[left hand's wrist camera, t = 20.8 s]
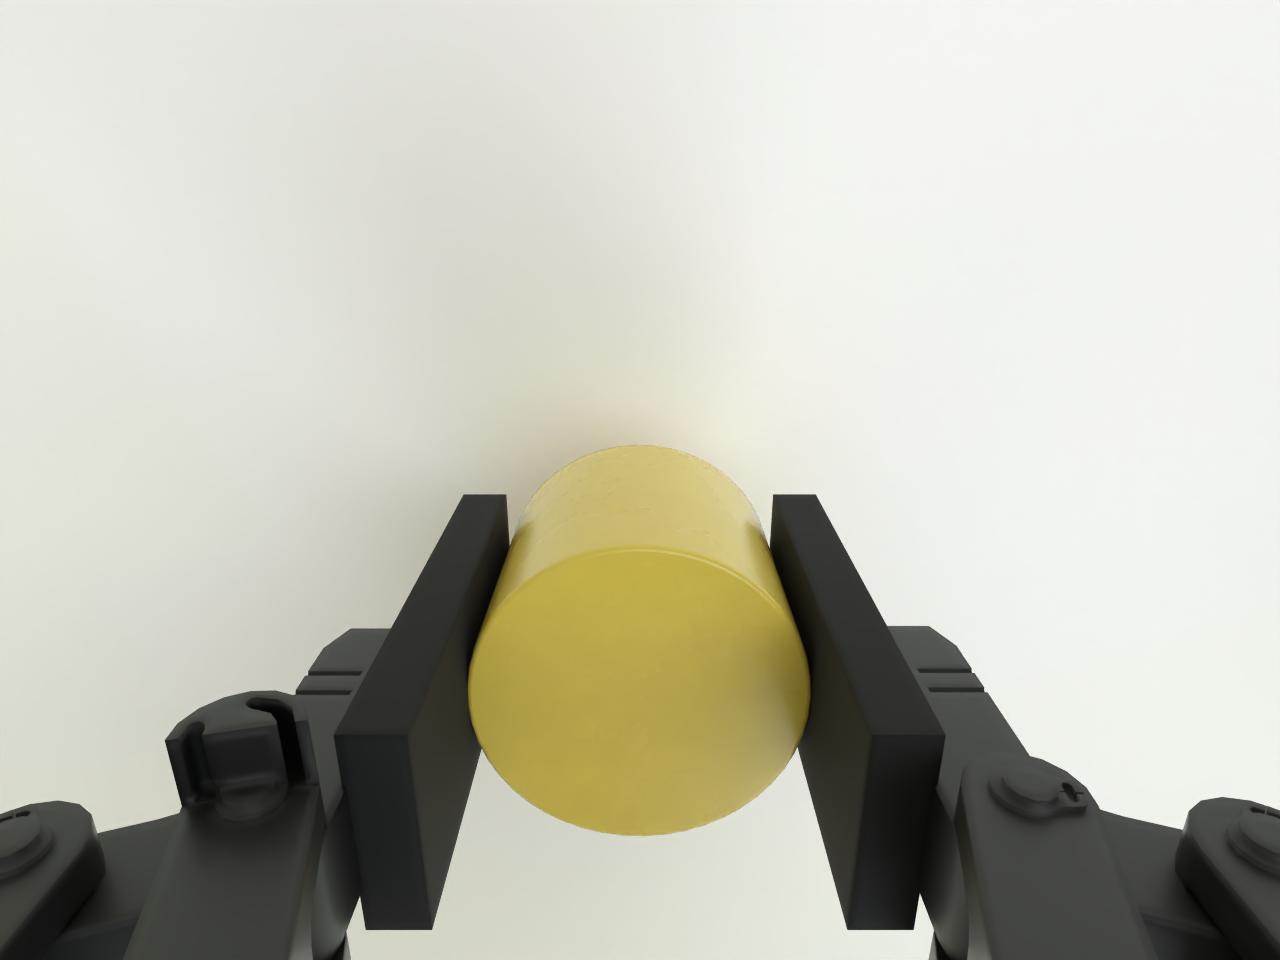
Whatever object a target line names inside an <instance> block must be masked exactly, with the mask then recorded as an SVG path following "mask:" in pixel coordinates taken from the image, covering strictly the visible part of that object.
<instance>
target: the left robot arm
mask: <svg viewBox="0 0 1280 960" xmlns="http://www.w3.org/2000/svg"><path fill="white" fill-rule="evenodd" d="M509 547H510V546H509V530H508V515H507V499H506V495H463V497H462V499H461V501H460V503H459V504H458V506H457V508H456V510H455V512H454V514H453V515H452V517H451V519H450V521H449V523H448V525H447V526H446V528H445V530H444V532H443V534H442V536H441V538H440V539H439V541H438V543H437V545H436V547H435V549H434V550H433V552H432V554H431V556H430V558H429V560H428V561H427V563H426V565H425V567H424V569H423V571H422V573H421V574H420V576H419V578H418V580H417V582H416V584H415V585H414V587H413V589H412V591H411V593H410V595H409V596H408V598H407V600H406V602H405V604H404V606H403V608H402V609H401V611H400V613H399V615H398V617H397V619H396V620H395V622H394V624H393V626H392V628H391V629H350V630H348V631H347V632H345V633H344V634H343V635H341V636H340V637H339V638H337V639H336V640H334V641H333V642H332V643H330V644H329V645H327V646H326V647H325V648H323V650H322V651H321V653H320V654H319V656H318V657H317V659H316V660H315V662H314V663H313V665H312V666H311V668H310V670H309V671H308V676H305V677H304V679H303V680H302V682H301V683H300V685H299V686H298V688H297V689H296V694H295V695H290V694H286V693H282V692H279V691H250V692H245V693H241V694H237V695H233V696H228V697H224V698H222V699H219V700H217V701H215V702H213V703H210V704H208V705H206V706H203V707H201V708H199V709H197V710H196V711H195V712H193V713H192V714H190V715H189V716H188V717H186V718H185V719H183V720H182V721H181V722H179V723H178V724H177V725H176V726H175V728H174V729H173V730H172V732H171V733H170V734H169V736H168V737H167V738H166V739H165V743H166V747H167V751H168V754H169V758H170V762H171V766H172V770H173V774H174V778H175V781H176V785H177V789H178V793H179V797H180V801H181V805H182V808H181V810H180V813H178V814H175V815H171V816H168V817H165V818H161V819H158V820H154V821H149V822H145V823H141V824H136V825H132V826H127V827H123V828H119V829H114V830H110V831H106V832H101V833H97V831H96V828H95V825H94V821H93V818H92V815H91V814H90V813H89V812H88V811H87V810H86V809H84V808H83V807H82V806H81V805H80V804H75V803H69V802H63V801H51V802H43V803H36V804H29V805H26V806H23V807H20V808H17V809H14V810H11V811H8V812H5V813H2V814H0V960H351V957H350V951H349V944H348V938H347V933H346V930H347V928H348V925H349V923H350V920H351V918H352V915H353V912H354V910H355V907H356V905H357V902H358V899H359V897H360V898H361V904H362V910H363V916H364V922H365V928H366V930H432V928H433V924H434V920H435V917H436V913H437V909H438V906H439V902H440V899H441V895H442V891H443V888H444V884H445V880H446V877H447V873H448V869H449V866H450V862H451V858H452V855H453V851H454V847H455V844H456V840H457V836H458V833H459V829H460V825H461V822H462V818H463V814H464V811H465V807H466V803H467V800H468V796H469V792H470V789H471V785H472V781H473V778H474V774H475V770H476V767H477V763H478V759H479V756H480V752H481V746H480V744H479V742H478V739H477V736H476V734H475V731H474V728H473V725H472V723H471V717H470V711H469V704H468V688H467V679H468V670H469V664H470V660H471V657H472V653H473V649H474V646H475V643H476V640H477V637H478V635H479V632H480V629H481V626H482V623H483V621H484V618H485V615H486V612H487V609H488V606H489V604H490V601H491V598H492V595H493V592H494V590H495V587H496V584H497V581H498V578H499V575H500V573H501V570H502V567H503V564H504V561H505V559H506V556H507V553H508V550H509ZM770 552H771V555H772V557H773V560H774V563H775V566H776V569H777V572H778V575H779V577H780V580H781V583H782V586H783V589H784V592H785V595H786V598H787V600H788V603H789V606H790V609H791V612H792V615H793V618H794V620H795V623H796V626H797V629H798V632H799V635H800V638H801V641H802V643H803V646H804V649H805V652H806V655H807V658H808V663H809V669H810V675H811V701H810V709H809V716H808V719H807V723H806V726H805V729H804V733H803V736H802V738H801V740H800V742H799V744H798V746H797V747H798V750H799V754H800V758H801V761H802V765H803V769H804V772H805V776H806V780H807V783H808V787H809V791H810V794H811V798H812V802H813V805H814V809H815V813H816V816H817V820H818V824H819V827H820V831H821V835H822V838H823V842H824V846H825V849H826V853H827V857H828V860H829V864H830V868H831V871H832V875H833V879H834V882H835V886H836V890H837V893H838V897H839V901H840V904H841V908H842V912H843V915H844V919H845V923H846V926H847V930H914V924H915V918H916V912H917V906H918V900H919V894H921V897H922V900H923V902H924V905H925V907H926V910H927V912H928V915H929V918H930V920H931V923H932V925H933V928H934V933H933V938H932V944H931V950H930V955H929V960H1280V810H1277V809H1274V808H1271V807H1269V806H1265V805H1262V804H1259V803H1256V802H1253V801H1249V800H1241V799H1233V798H1225V797H1220V798H1214V799H1208V800H1202V801H1200V802H1199V803H1198V804H1197V805H1195V806H1194V807H1193V808H1192V809H1191V810H1190V811H1189V813H1188V816H1187V819H1186V822H1185V825H1184V829H1183V830H1180V829H1176V828H1172V827H1167V826H1163V825H1158V824H1154V823H1150V822H1145V821H1141V820H1136V819H1132V818H1127V817H1123V816H1120V815H1116V814H1113V813H1110V812H1106V811H1103V810H1100V809H1099V806H1098V805H1097V803H1096V801H1095V800H1094V798H1093V797H1092V795H1091V794H1090V792H1089V791H1088V789H1087V788H1086V787H1085V786H1084V785H1083V784H1081V783H1080V782H1079V781H1078V780H1076V779H1075V778H1074V777H1073V776H1071V775H1070V774H1069V773H1068V772H1067V771H1065V770H1063V769H1060V768H1058V767H1056V766H1054V765H1052V764H1050V763H1048V762H1046V761H1044V760H1042V759H1039V758H1035V757H1031V756H1029V754H1028V753H1027V751H1026V750H1025V748H1024V747H1023V745H1022V744H1021V742H1020V741H1019V739H1018V738H1017V736H1016V735H1015V733H1014V732H1013V730H1012V729H1011V727H1010V726H1009V724H1008V723H1007V721H1006V720H1005V718H1004V717H1003V715H1002V714H1001V712H1000V711H999V709H998V708H997V706H996V705H995V703H994V702H993V700H992V699H991V697H990V696H989V694H988V693H987V692H984V687H983V685H982V684H981V682H980V681H979V679H978V678H977V676H976V675H975V673H972V671H971V667H970V666H969V664H968V663H967V661H966V660H965V658H964V657H963V655H962V654H961V652H960V651H959V649H958V648H957V646H956V645H955V644H953V643H952V642H950V641H949V640H948V639H946V638H945V637H943V636H942V635H941V634H939V633H938V632H936V631H935V630H934V629H932V628H931V627H929V626H887V625H886V623H885V622H884V620H883V618H882V616H881V614H880V612H879V610H878V609H877V607H876V605H875V603H874V601H873V599H872V598H871V596H870V594H869V592H868V590H867V588H866V587H865V585H864V583H863V581H862V579H861V577H860V575H859V574H858V572H857V570H856V568H855V566H854V564H853V563H852V561H851V559H850V557H849V555H848V553H847V551H846V550H845V548H844V546H843V544H842V542H841V540H840V539H839V537H838V535H837V533H836V531H835V529H834V528H833V526H832V524H831V522H830V520H829V518H828V516H827V515H826V513H825V511H824V509H823V507H822V505H821V504H820V502H819V500H818V498H817V496H816V495H773V506H772V522H771V537H770Z"/></svg>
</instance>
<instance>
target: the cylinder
mask: <svg viewBox="0 0 1280 960" xmlns="http://www.w3.org/2000/svg"><path fill="white" fill-rule="evenodd" d="M467 688H468V704H469V711H470V717H471V723H472V725H473V728H474V731H475V734H476V736H477V739H478V742H479V744H480V746H481V748H482V750H483V751H484V753H485V755H486V757H487V759H488V760H489V762H490V763H491V764H492V766H493V767H494V769H495V770H496V771H497V773H498V774H499V775H500V776H501V777H502V778H503V779H504V781H505V782H506V783H507V784H508V785H509V786H510V787H511V788H512V789H513V790H514V791H516V792H517V793H518V794H519V795H521V796H522V797H523V798H524V799H525V800H527V801H528V802H530V803H531V804H533V805H534V806H536V807H537V808H539V809H541V810H542V811H544V812H546V813H548V814H550V815H552V816H554V817H556V818H558V819H560V820H562V821H565V822H567V823H570V824H573V825H576V826H579V827H581V828H585V829H589V830H593V831H598V832H602V833H609V834H616V835H628V836H650V835H664V834H670V833H675V832H681V831H686V830H689V829H693V828H696V827H700V826H703V825H706V824H709V823H711V822H713V821H716V820H718V819H721V818H723V817H725V816H727V815H729V814H731V813H732V812H734V811H736V810H738V809H740V808H741V807H743V806H744V805H746V804H747V803H749V802H750V801H751V800H753V799H754V798H756V797H757V796H758V795H759V794H760V793H762V792H763V791H764V790H765V789H766V788H767V787H768V786H769V785H770V784H771V783H772V782H773V781H774V780H775V779H776V778H777V777H778V775H779V774H780V773H781V772H782V771H783V769H784V768H785V767H786V765H787V764H788V762H789V761H790V759H791V757H792V756H793V754H794V753H795V751H796V749H797V746H798V744H799V742H800V740H801V738H802V736H803V733H804V729H805V726H806V723H807V719H808V716H809V709H810V701H811V675H810V669H809V663H808V658H807V655H806V652H805V649H804V646H803V643H802V641H801V638H800V635H799V632H798V629H797V626H796V623H795V620H794V618H793V615H792V612H791V609H790V606H789V603H788V600H787V598H786V595H785V592H784V589H783V586H782V583H781V580H780V577H779V575H778V572H777V569H776V566H775V563H774V560H773V557H772V555H771V552H770V549H769V546H768V543H767V540H766V537H765V534H764V532H763V529H762V526H761V523H760V520H759V518H758V516H757V514H756V512H755V510H754V508H753V506H752V504H751V503H750V502H749V500H748V499H747V497H746V496H745V495H744V493H743V492H742V491H741V490H740V489H739V488H738V487H737V486H736V484H735V483H734V482H733V481H732V480H731V479H729V478H728V477H727V476H726V475H724V474H723V473H722V472H721V471H720V470H718V469H717V468H715V467H713V466H712V465H710V464H708V463H707V462H705V461H703V460H701V459H699V458H697V457H694V456H692V455H690V454H687V453H684V452H681V451H677V450H674V449H670V448H664V447H658V446H645V445H632V446H620V447H614V448H610V449H605V450H601V451H598V452H595V453H592V454H589V455H587V456H584V457H582V458H580V459H578V460H576V461H574V462H572V463H570V464H568V465H567V466H565V467H564V468H562V469H561V470H560V471H558V472H557V473H555V474H554V475H553V476H552V477H551V478H550V479H548V480H547V481H546V482H545V483H544V484H543V485H542V486H541V487H540V489H539V490H538V491H537V492H536V493H535V494H534V496H533V497H532V498H531V500H530V502H529V503H528V505H527V506H526V508H525V509H524V511H523V514H522V516H521V518H520V520H519V523H518V525H517V528H516V530H515V533H514V536H513V539H512V542H511V544H510V547H509V550H508V553H507V556H506V559H505V561H504V564H503V567H502V570H501V573H500V575H499V578H498V581H497V584H496V587H495V590H494V592H493V595H492V598H491V601H490V604H489V606H488V609H487V612H486V615H485V618H484V621H483V623H482V626H481V629H480V632H479V635H478V637H477V640H476V643H475V646H474V649H473V653H472V657H471V660H470V664H469V670H468V679H467Z"/></svg>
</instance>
